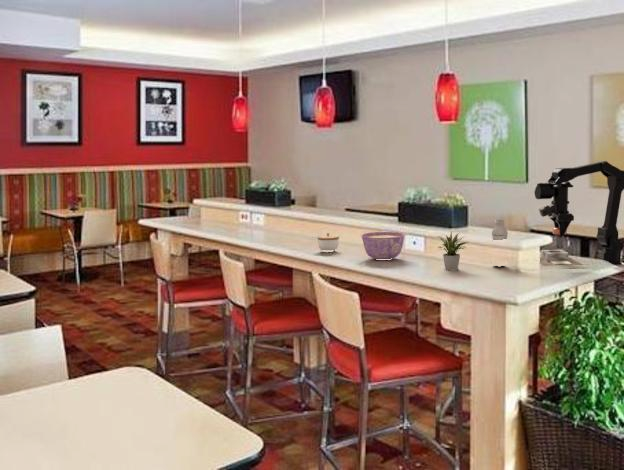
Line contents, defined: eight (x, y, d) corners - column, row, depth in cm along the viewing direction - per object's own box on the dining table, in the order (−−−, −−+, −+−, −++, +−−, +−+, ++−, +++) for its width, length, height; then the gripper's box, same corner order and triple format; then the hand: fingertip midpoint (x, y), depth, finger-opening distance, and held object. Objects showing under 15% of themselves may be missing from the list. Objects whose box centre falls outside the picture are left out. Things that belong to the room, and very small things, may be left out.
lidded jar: (329, 249, 356) (328, 231, 355) (343, 251, 348) (343, 233, 347) (313, 252, 349) (312, 233, 348) (327, 254, 341) (327, 235, 340)
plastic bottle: (495, 265, 300) (495, 219, 298) (509, 266, 296) (510, 219, 293) (488, 267, 296) (488, 220, 293) (503, 269, 291) (503, 221, 289)
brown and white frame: (569, 260, 306) (570, 249, 305) (583, 268, 288) (583, 256, 287) (532, 261, 307) (532, 250, 306) (543, 268, 289) (543, 257, 288)
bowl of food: (404, 263, 311) (404, 237, 310) (359, 263, 314) (359, 237, 313) (405, 255, 331) (405, 231, 329) (363, 255, 334) (363, 231, 332)
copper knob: (550, 246, 296) (551, 226, 295) (564, 246, 295) (564, 226, 294) (554, 248, 290) (554, 228, 289) (568, 248, 290) (568, 228, 289)
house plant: (441, 273, 285) (441, 234, 283) (426, 268, 298) (426, 230, 296) (472, 271, 289) (472, 232, 287) (457, 265, 302) (457, 228, 300)
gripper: (535, 196, 300) (535, 232, 302) (546, 200, 282) (545, 239, 284) (562, 196, 299) (561, 232, 301) (574, 200, 281) (573, 238, 283)
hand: (559, 235), depth 292 cm, fingers closed on copper knob, 6 cm apart
